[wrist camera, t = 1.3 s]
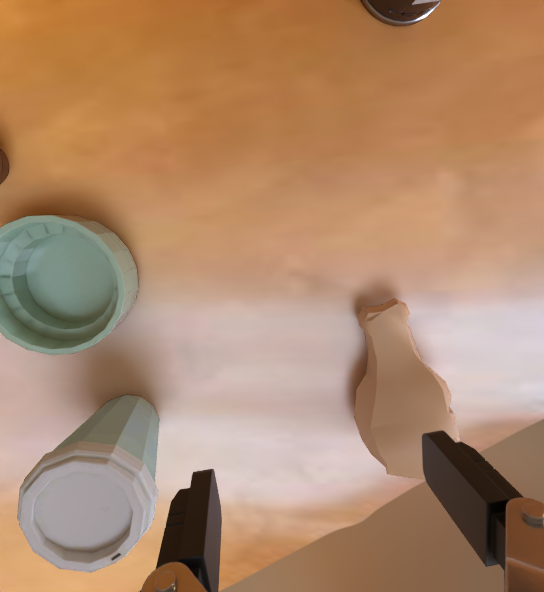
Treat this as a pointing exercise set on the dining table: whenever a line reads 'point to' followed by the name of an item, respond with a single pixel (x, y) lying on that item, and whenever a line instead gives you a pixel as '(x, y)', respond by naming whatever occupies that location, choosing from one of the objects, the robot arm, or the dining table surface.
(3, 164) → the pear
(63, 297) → the bowl
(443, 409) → the squash
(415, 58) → the dining table surface
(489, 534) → the robot arm
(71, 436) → the disposable coffee cup
